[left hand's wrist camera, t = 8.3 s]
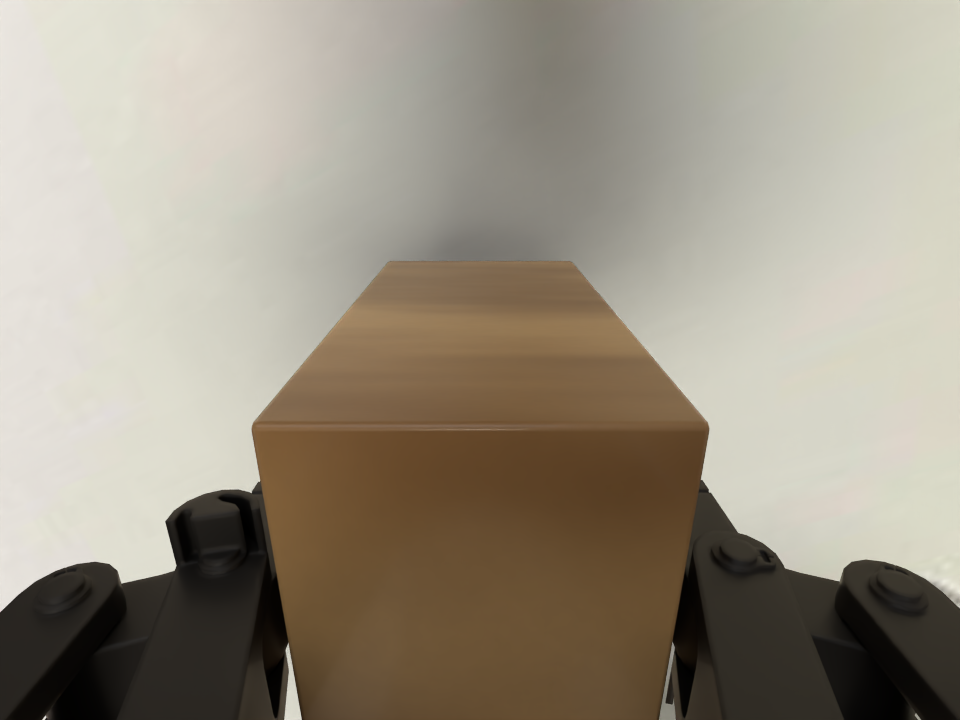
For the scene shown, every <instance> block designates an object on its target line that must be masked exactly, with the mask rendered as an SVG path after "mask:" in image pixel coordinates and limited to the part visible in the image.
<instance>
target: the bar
mask: <svg viewBox="0 0 960 720" xmlns="http://www.w3.org/2000/svg"><path fill="white" fill-rule="evenodd" d="M252 435H253V440H254V446H255V452H256V458H257V463H258V469H259V475H260V481H261V487H262V492H263V498H264V504H265V510H266V515H267V521H268V527H269V533H270V538H271V544H272V550H273V556H274V561H275V567H276V573H277V579H278V584H279V590H280V596H281V602H282V607H283V613H284V619H285V625H286V630H287V636H288V642H289V648H290V653H291V659H292V665H293V671H294V676H295V682H296V688H297V694H298V699H299V705H300V711H301V717H302V720H659V715H660V709H661V704H662V698H663V692H664V687H665V681H666V675H667V669H668V664H669V658H670V652H671V647H672V641H673V635H674V629H675V624H676V618H677V612H678V606H679V601H680V595H681V589H682V584H683V578H684V572H685V566H686V561H687V555H688V549H689V543H690V538H691V532H692V526H693V521H694V515H695V509H696V503H697V498H698V492H699V486H700V481H701V475H702V469H703V463H704V458H705V452H706V446H707V440H708V435H709V425H708V422H707V421H706V420H705V419H704V418H703V416H702V415H701V414H700V413H699V412H698V411H697V409H696V408H695V407H694V406H693V405H692V403H691V402H690V401H689V400H688V399H687V398H686V396H685V395H684V394H683V393H682V392H681V390H680V389H679V388H678V387H677V386H676V385H675V383H674V382H673V381H672V380H671V379H670V377H669V376H668V375H667V374H666V373H665V372H664V370H663V369H662V368H661V367H660V366H659V364H658V363H657V362H656V361H655V360H654V359H653V357H652V356H651V355H650V354H649V353H648V351H647V350H646V349H645V348H644V347H643V346H642V344H641V343H640V342H639V341H638V340H637V338H636V337H635V336H634V335H633V334H632V332H631V331H630V330H629V329H628V328H627V327H626V325H625V324H624V323H623V322H622V321H621V319H620V318H619V317H618V316H617V315H616V314H615V312H614V311H613V310H612V309H611V308H610V306H609V305H608V304H607V303H606V302H605V301H604V299H603V298H602V297H601V296H600V295H599V293H598V292H597V291H596V290H595V289H594V288H593V286H592V285H591V284H590V283H589V282H588V280H587V279H586V278H585V277H584V276H583V275H582V273H581V272H580V271H579V270H578V269H577V267H576V266H575V265H574V264H573V263H572V262H570V261H390V262H388V263H387V264H386V265H385V267H384V268H383V269H382V270H381V271H380V272H379V274H378V275H377V276H376V277H375V278H374V280H373V281H372V282H371V283H370V284H369V286H368V287H367V288H366V289H365V290H364V292H363V293H362V294H361V295H360V296H359V297H358V299H357V300H356V301H355V302H354V303H353V305H352V306H351V307H350V308H349V309H348V311H347V312H346V313H345V314H344V315H343V317H342V318H341V319H340V320H339V321H338V322H337V324H336V325H335V326H334V327H333V328H332V330H331V331H330V332H329V333H328V334H327V336H326V337H325V338H324V339H323V340H322V342H321V343H320V344H319V345H318V346H317V347H316V349H315V350H314V351H313V352H312V353H311V355H310V356H309V357H308V358H307V359H306V361H305V362H304V363H303V364H302V365H301V366H300V368H299V369H298V370H297V371H296V372H295V374H294V375H293V376H292V377H291V378H290V380H289V381H288V382H287V383H286V384H285V386H284V387H283V388H282V389H281V390H280V391H279V393H278V394H277V395H276V396H275V397H274V399H273V400H272V401H271V402H270V403H269V405H268V406H267V407H266V408H265V409H264V411H263V412H262V413H261V414H260V415H259V416H258V418H257V419H256V420H255V421H254V422H253V425H252Z"/></svg>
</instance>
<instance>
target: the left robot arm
mask: <svg viewBox="0 0 960 720" xmlns="http://www.w3.org/2000/svg"><path fill="white" fill-rule="evenodd" d="M165 522H166V526H167V530H168V534H169V538H170V542H171V545H172V549H173V553H174V557H175V561H176V565H177V566H176V569H175V571H173V572H169V573H166V574H163V575H159V576H154V577H150V578H145V579H141V580H136V581H132V582H127V583H123V584H121V581H120V578H119V575H118V571H117V570H116V569H115V568H113V567H112V566H111V565H110V564H105V563H99V562H90V563H82V564H76V565H73V566H69V567H67V568H63V569H60V570H57V571H55V572H53V573H51V574H49V575H47V576H45V577H43V578H41V579H40V580H38V581H36V582H34V583H33V584H32V585H31V586H29V587H28V588H27V589H25V590H24V591H23V592H21V593H20V594H19V595H18V596H17V597H16V598H15V599H14V600H13V601H12V602H11V603H10V604H8V605H7V606H6V607H5V608H4V609H3V610H2V611H1V612H0V720H42V719H43V718H44V717H45V715H46V717H47V718H46V719H45V720H284V715H285V705H286V694H287V684H288V673H289V669H288V663H287V657H286V651H285V650H286V647H287V645H288V636H287V630H286V625H285V619H284V613H283V607H282V602H281V596H280V590H279V584H278V579H277V573H276V567H275V561H274V556H273V550H272V544H271V538H270V533H269V527H268V521H267V515H266V510H265V504H264V498H263V492H262V487H261V481H260V482H258V483H257V485H256V486H255V488H254V489H253V491H252V493H250V492H246V491H242V490H220V491H216V492H211V493H207V494H203V495H201V496H199V497H196V498H194V499H192V500H189V501H187V502H186V503H184V504H183V505H181V506H180V507H179V508H177V509H176V510H174V511H173V513H172V514H171V515H170V516H169V518H168V519H167V520H166V521H165ZM673 644H674V646H675V651H674V657H673V662H672V668H671V673H670V679H669V685H668V690H667V697H666V703H667V704H673V699H674V704H675V714H676V720H918V719H917V718H916V717H915V714H916V713H917V715H918V716H919V717H920V719H921V720H960V608H959V607H958V606H956V605H955V604H954V603H953V602H952V601H951V600H950V599H949V598H948V597H947V596H946V595H945V594H944V593H943V592H942V591H940V590H939V589H938V588H936V587H935V586H934V585H932V584H931V583H930V582H929V581H927V580H926V579H924V578H922V577H920V576H918V575H916V574H914V573H913V572H911V571H909V570H907V569H905V568H902V567H899V566H895V565H893V564H889V563H886V562H881V561H873V560H861V561H854V562H851V563H850V564H849V565H848V566H846V567H845V568H844V570H843V573H842V576H841V579H840V582H839V581H834V580H830V579H825V578H821V577H816V576H812V575H807V574H803V573H799V572H795V571H792V570H788V569H785V568H784V565H783V564H782V562H781V561H780V559H779V558H778V556H777V555H776V553H774V552H773V551H772V550H771V549H769V548H768V547H767V546H766V545H764V544H763V543H761V542H759V541H757V540H755V539H753V538H751V537H749V536H747V535H743V534H739V533H738V532H737V531H736V529H735V528H734V526H733V525H732V523H731V522H730V520H729V519H728V517H727V516H726V514H725V513H724V511H723V510H722V509H721V507H720V506H719V504H718V503H717V501H716V500H715V498H714V497H713V495H712V494H711V493H709V489H708V488H707V486H706V485H705V483H704V482H703V480H701V481H700V486H699V492H698V498H697V503H696V509H695V515H694V521H693V526H692V532H691V538H690V543H689V549H688V555H687V561H686V566H685V572H684V578H683V584H682V589H681V595H680V601H679V606H678V612H677V618H676V624H675V629H674V635H673Z"/></svg>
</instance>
